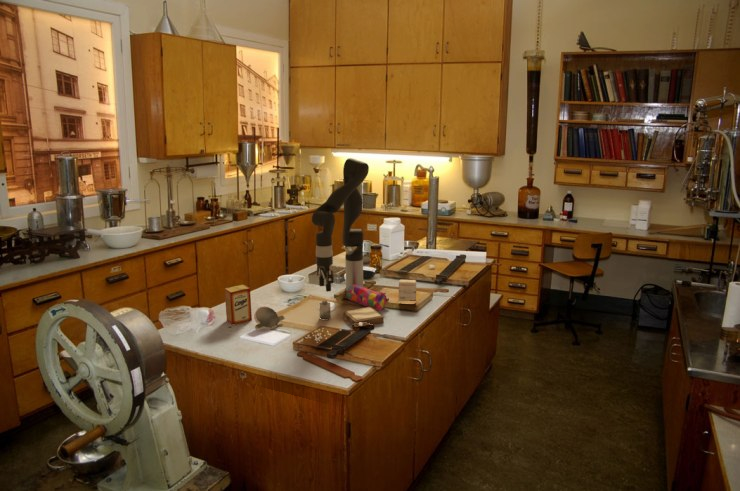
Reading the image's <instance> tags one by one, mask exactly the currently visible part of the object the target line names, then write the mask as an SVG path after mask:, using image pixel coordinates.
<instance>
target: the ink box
mask: <svg viewBox="0 0 740 491" xmlns="http://www.w3.org/2000/svg"><path fill="white" fill-rule="evenodd" d="M399 301H416V302H417V280H416V279H399V280H398V302H399Z"/></svg>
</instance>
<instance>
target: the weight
mask: <svg viewBox="0 0 740 491" xmlns="http://www.w3.org/2000/svg"><path fill="white" fill-rule="evenodd" d="M318 306H319V319H320V318H321V319H328V320H331V318H332V317H331V316H332V315H331V302H329V301H328V300H321V302H320V303H319V305H318ZM321 319H320V320H321Z"/></svg>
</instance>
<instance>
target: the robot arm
mask: <svg viewBox="0 0 740 491" xmlns="http://www.w3.org/2000/svg"><path fill="white" fill-rule="evenodd" d="M369 166H370V165H368V163H367V162H364V161H362V160H358V159H355V158H353V157H352V158H351V157H350V158H347V159H346V160H345V161H344V164H343V170H342V174H343V185H340V186H339V187H337V188H336V189H334V190H333V191H332V192H331V193H330V195H329V197H328V198H327V199H326V201H325V202H323V203H322V204H321V205H320V206H319V207H318V208H316V209H315V210H314V212H313V213H312V216H311V222H312V224H313V225H314V226H317V227H321V228H323V229H322V231H318V232H317V233H316V235H315V242H316V243H315V264H316V275H317V277H318V280H319V281H318V282H319V283H318V285H319V286H320V287H324V286H325V291H326V292H327V293H328V292H331V291H332V284H333V283H334V273H333V270H332V269H330V267H331V266H332V265H333V264H334V260H333V259H334V258H333V257H334V256H333V255H334V254H333V244H332V243H333V240H332V238H333V237H332V236H333V232H334V228H335V225H336V217H335V215H334V214H336V213H338V212H339V211H340V209H341V208H342V206H343V224H342V226H343V227H342V235H341V236H342V238H341V240H342V245H343V246H344V247H345V248H347V247H348V248H354V247H355V248H354V249H353V250H350V251H348V252H346V253H345V256H344V258H345V259H344V260H345V291H346V292H347V290H348V288H349V287H350V286H351V285H354V284H356V285H359V286H361V287H364V231H363V229H361V228H352V226H353V224H354V223H355V222H356V221H357V220H358V219H359V218H360V216H361V214H362V212H363V198H362V197H363V196H362V195H361V193H360V191H359V189H358V188H359V186H360V185H361V184H362V183H363V182H364V181H365V180H366V178H367V176H368V174H369V170H370V167H369Z"/></svg>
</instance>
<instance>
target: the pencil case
mask: <svg viewBox="0 0 740 491" xmlns="http://www.w3.org/2000/svg"><path fill="white" fill-rule="evenodd" d="M345 293H346V294H345V296H346V298H347V300H348V301H349V302H353V303H355V304H359V305H361V306H364V307H372V308H373V309H374V310H375V311H377V312H379V311H381V310H383V309H384V308H386V306H387V303H388V302H389V301H390V297H388V298H387V295H386V294H387V292H381V291H378V292H377V291H374V290H372V289H369V288H366V287H364V286H363V287H361V286H359V285H356V284H354V285H351V286H350V287H349V288H348V290H347V291H346V292H345Z"/></svg>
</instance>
